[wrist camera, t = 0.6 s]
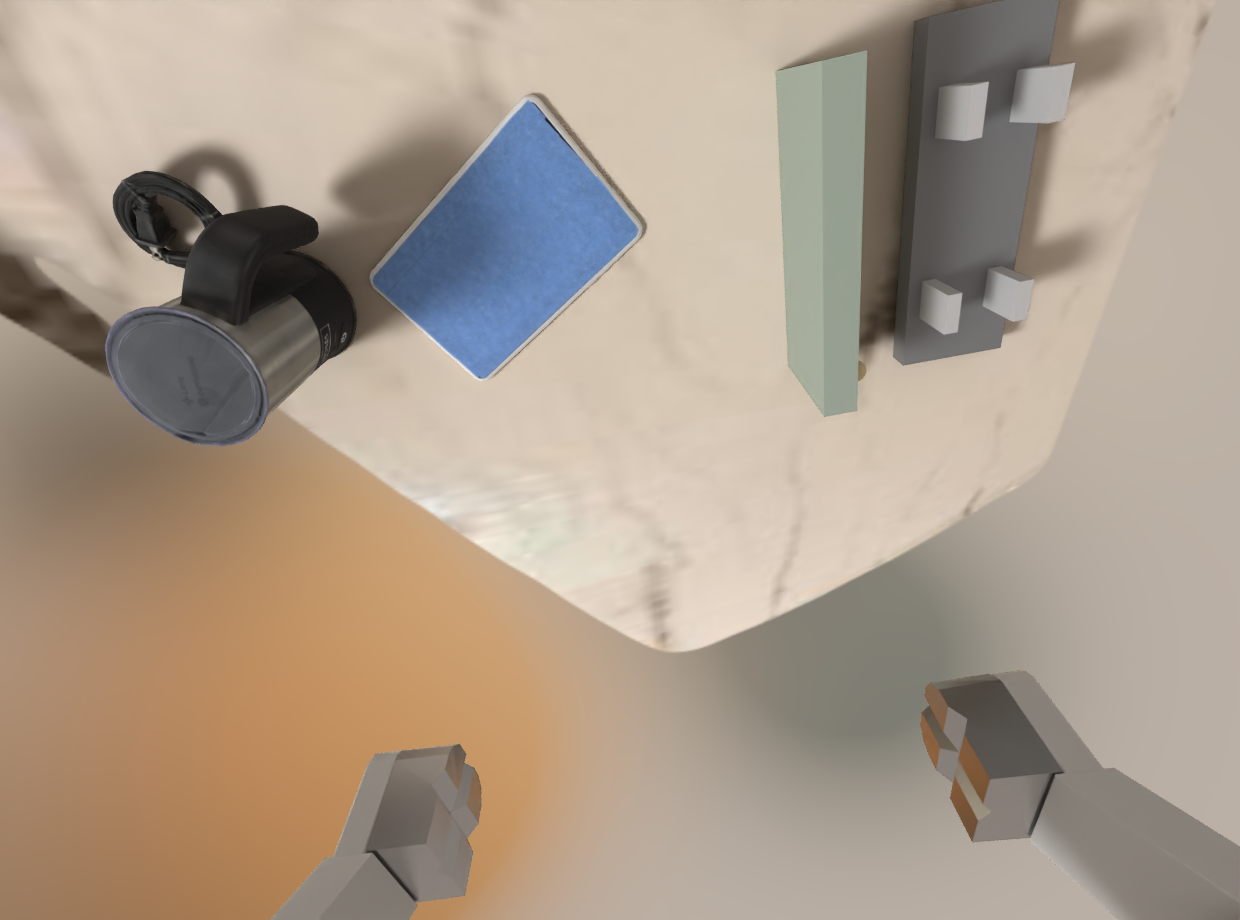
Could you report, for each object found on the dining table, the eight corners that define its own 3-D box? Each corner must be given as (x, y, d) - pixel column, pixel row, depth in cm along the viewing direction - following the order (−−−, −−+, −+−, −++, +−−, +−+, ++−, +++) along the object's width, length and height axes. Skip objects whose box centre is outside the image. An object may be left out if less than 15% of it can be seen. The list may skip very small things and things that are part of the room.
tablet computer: (532, 87, 40) (529, 86, 38) (648, 229, 45) (649, 232, 44) (368, 276, 46) (362, 280, 45) (485, 381, 51) (482, 388, 50)
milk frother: (363, 367, 50) (280, 455, 37) (173, 345, 48) (19, 428, 36) (344, 190, 42) (232, 225, 30) (119, 158, 41) (-99, 180, 28)
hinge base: (914, 21, 38) (962, 7, 32) (1040, -9, 37) (1110, -28, 32) (893, 356, 50) (925, 384, 45) (987, 339, 49) (1030, 366, 44)
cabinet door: (775, 71, 39) (821, 60, 30) (832, 58, 39) (896, 43, 30) (787, 365, 50) (824, 416, 42) (831, 356, 50) (877, 407, 42)
